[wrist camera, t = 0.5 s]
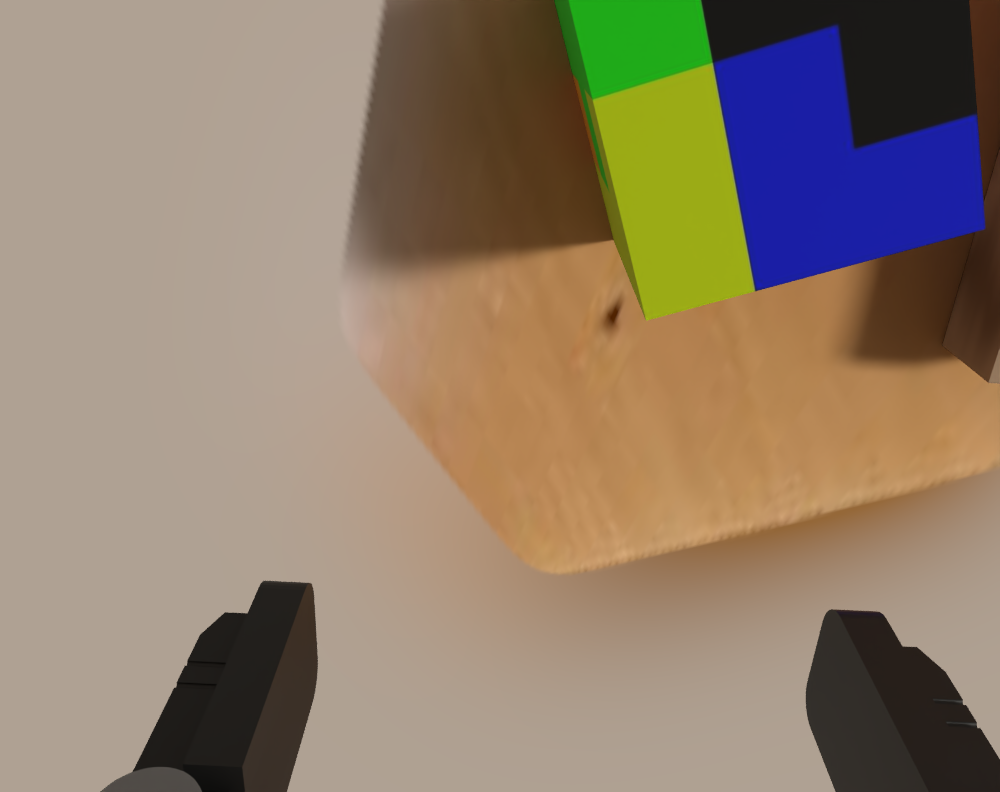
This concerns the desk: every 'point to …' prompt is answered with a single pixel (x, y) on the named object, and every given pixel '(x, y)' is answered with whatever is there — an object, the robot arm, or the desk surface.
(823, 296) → the desk surface
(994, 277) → the block
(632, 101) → the puzzle toy
